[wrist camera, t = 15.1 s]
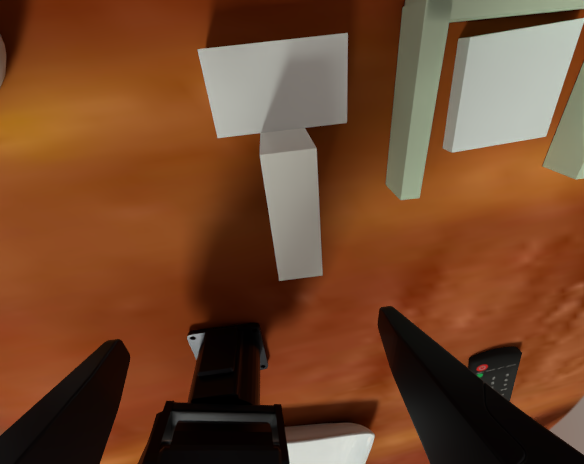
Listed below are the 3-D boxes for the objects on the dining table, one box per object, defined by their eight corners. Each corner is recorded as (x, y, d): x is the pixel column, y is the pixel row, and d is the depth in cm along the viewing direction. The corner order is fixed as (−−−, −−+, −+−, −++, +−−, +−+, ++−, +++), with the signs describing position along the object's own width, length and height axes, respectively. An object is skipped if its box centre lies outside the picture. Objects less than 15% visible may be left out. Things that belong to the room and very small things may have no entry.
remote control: (458, 439, 45) (464, 449, 43) (465, 350, 32) (473, 361, 31) (492, 432, 44) (499, 441, 43) (513, 339, 32) (522, 349, 30)
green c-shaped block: (558, 164, 20) (594, 177, 18) (385, 184, 20) (400, 200, 17) (640, -26, 15) (704, -39, 12) (403, -2, 14) (428, -12, 12)
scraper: (339, 217, 21) (363, 270, 16) (244, 229, 21) (237, 286, 15) (338, 35, 15) (377, 24, 10) (204, 50, 15) (173, 46, 10)
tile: (526, 131, 19) (545, 136, 18) (439, 146, 19) (451, 152, 18) (558, 21, 16) (585, 18, 15) (453, 39, 16) (470, 37, 14)
